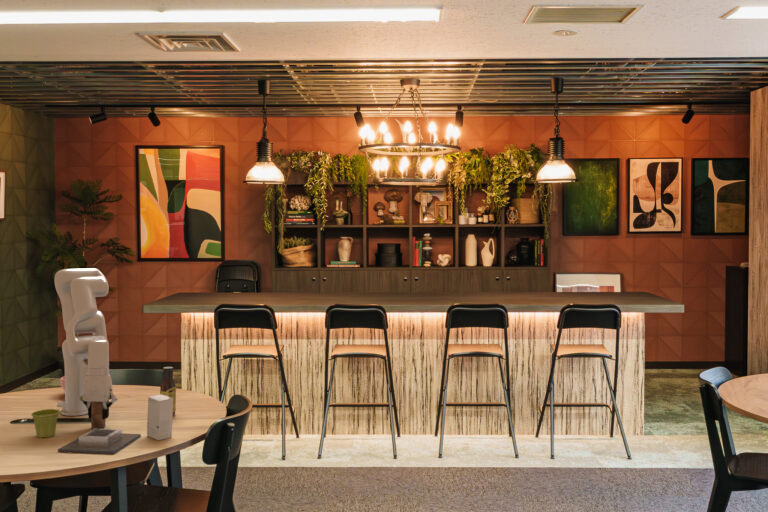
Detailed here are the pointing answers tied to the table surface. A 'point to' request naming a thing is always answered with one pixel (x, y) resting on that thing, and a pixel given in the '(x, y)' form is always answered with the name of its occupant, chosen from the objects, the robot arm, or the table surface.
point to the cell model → (63, 383)
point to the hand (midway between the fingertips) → (98, 417)
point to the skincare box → (159, 417)
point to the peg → (97, 415)
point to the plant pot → (45, 422)
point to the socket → (100, 442)
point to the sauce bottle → (169, 386)
